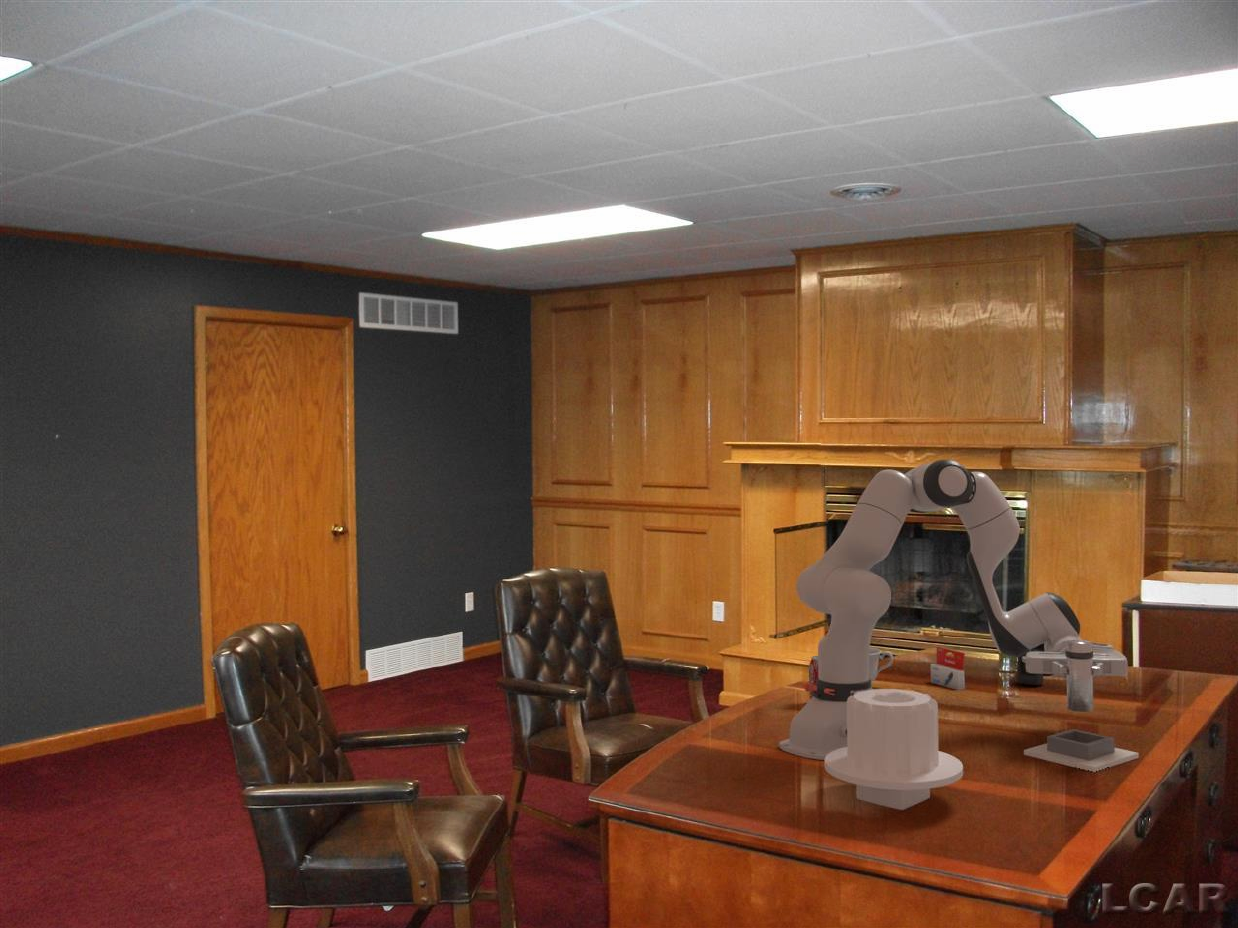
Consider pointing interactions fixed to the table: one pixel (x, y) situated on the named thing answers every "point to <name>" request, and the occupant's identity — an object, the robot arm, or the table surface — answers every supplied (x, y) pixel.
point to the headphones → (1023, 675)
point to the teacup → (874, 659)
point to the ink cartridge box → (948, 669)
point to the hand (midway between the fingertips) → (1080, 671)
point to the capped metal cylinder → (1079, 675)
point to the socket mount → (1081, 750)
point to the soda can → (813, 672)
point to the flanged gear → (893, 748)
